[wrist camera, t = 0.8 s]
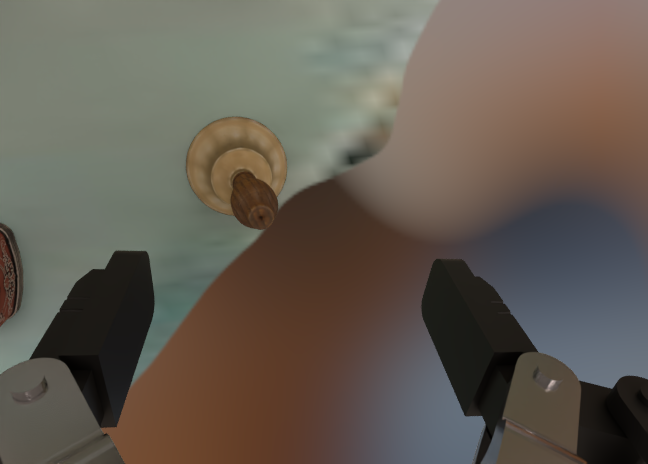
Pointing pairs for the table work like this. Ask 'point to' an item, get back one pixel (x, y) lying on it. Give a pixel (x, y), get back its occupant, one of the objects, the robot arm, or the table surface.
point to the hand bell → (238, 170)
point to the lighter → (9, 275)
